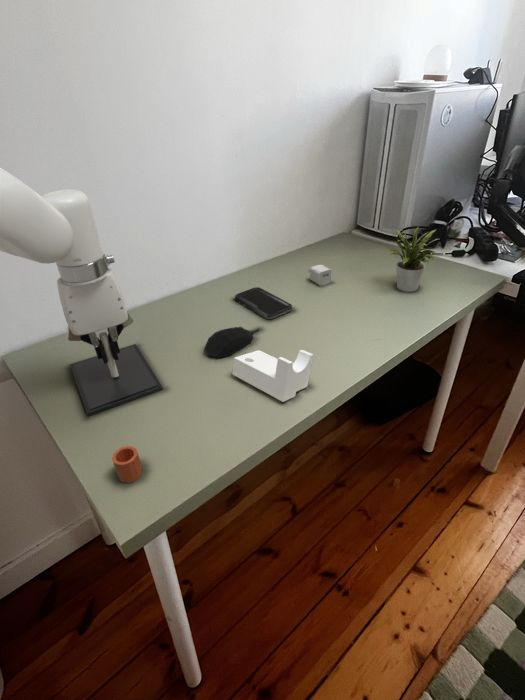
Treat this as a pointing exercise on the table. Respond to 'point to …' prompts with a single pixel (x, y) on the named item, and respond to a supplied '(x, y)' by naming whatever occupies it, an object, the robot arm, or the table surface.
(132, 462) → the pen holder
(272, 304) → the phone
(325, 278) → the usb wall charger
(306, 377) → the bracket
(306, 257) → the table surface
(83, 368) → the tablet
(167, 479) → the table surface
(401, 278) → the house plant
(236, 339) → the gaming mouse
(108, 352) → the stylus
